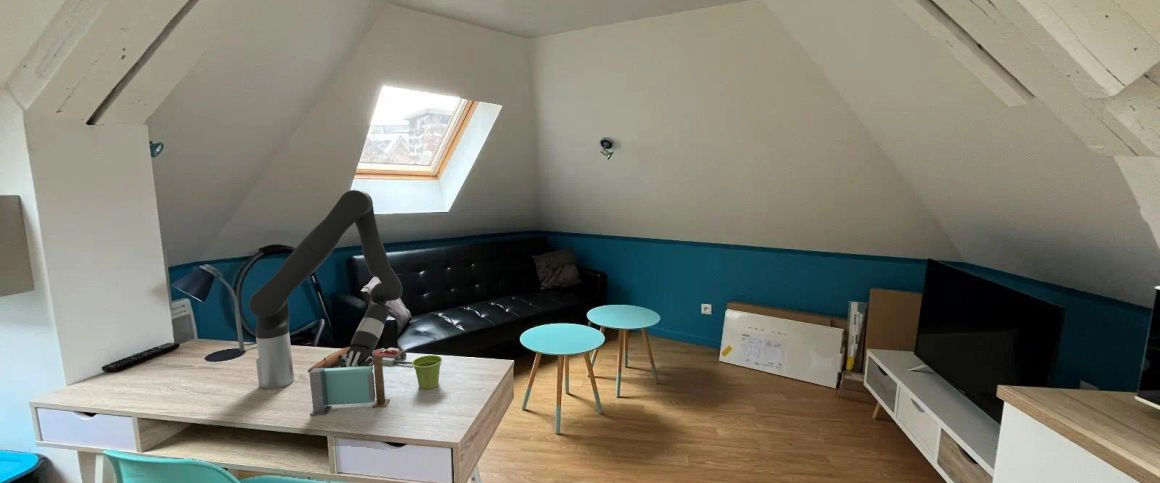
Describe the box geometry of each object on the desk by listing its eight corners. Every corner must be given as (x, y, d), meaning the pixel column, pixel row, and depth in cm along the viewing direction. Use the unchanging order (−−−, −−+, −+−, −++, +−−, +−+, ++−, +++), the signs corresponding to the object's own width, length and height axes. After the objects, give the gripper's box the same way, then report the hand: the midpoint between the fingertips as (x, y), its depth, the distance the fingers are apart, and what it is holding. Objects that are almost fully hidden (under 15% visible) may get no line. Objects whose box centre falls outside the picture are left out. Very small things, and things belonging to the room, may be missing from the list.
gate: (375, 400, 146) (372, 366, 144) (373, 403, 144) (371, 368, 142) (321, 403, 144) (318, 368, 142) (318, 406, 142) (315, 371, 141)
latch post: (310, 415, 139) (305, 373, 137) (316, 408, 143) (312, 367, 141) (325, 414, 139) (321, 372, 137) (331, 407, 144) (327, 366, 141)
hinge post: (372, 407, 143) (368, 358, 140) (376, 401, 147) (372, 353, 144) (386, 407, 143) (382, 357, 141) (389, 400, 147) (386, 352, 145)
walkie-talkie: (363, 364, 176) (411, 368, 172) (362, 352, 176) (411, 356, 171) (377, 354, 185) (424, 358, 181) (377, 344, 184) (423, 347, 180)
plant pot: (449, 385, 157) (447, 360, 156) (423, 395, 151) (421, 369, 149) (434, 376, 164) (432, 352, 162) (408, 386, 157) (406, 361, 156)
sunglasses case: (339, 352, 186) (345, 339, 185) (353, 362, 186) (360, 348, 184) (305, 372, 169) (312, 357, 167) (321, 382, 168) (328, 368, 167)
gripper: (344, 328, 154) (318, 380, 144) (379, 331, 151) (356, 384, 141) (356, 338, 160) (333, 388, 150) (391, 341, 157) (369, 393, 147)
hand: (344, 386), depth 146 cm, fingers closed
